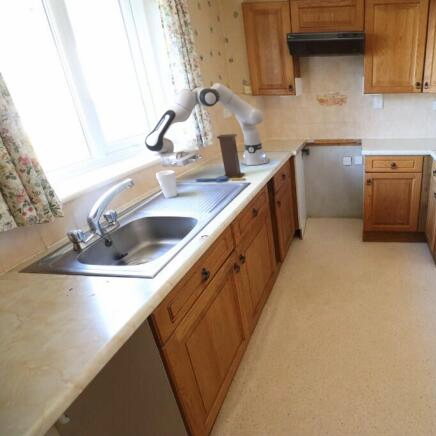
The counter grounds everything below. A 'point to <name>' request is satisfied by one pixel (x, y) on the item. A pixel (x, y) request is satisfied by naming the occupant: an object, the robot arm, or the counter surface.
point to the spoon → (215, 179)
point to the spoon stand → (230, 155)
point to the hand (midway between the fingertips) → (199, 158)
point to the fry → (237, 179)
